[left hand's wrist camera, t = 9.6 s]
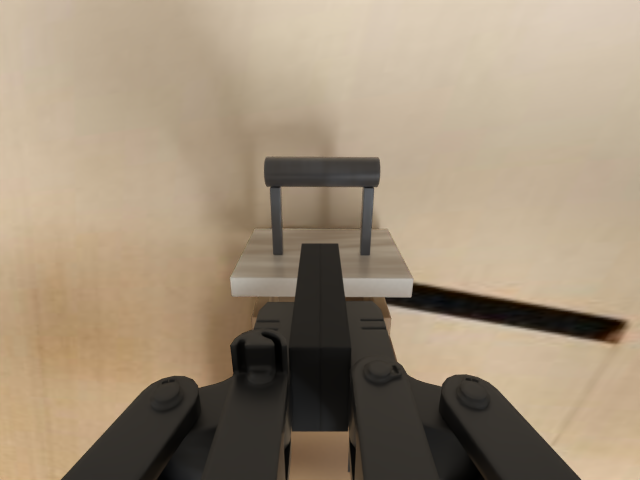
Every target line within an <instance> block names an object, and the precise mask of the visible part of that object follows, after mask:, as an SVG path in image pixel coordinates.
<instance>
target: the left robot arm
mask: <svg viewBox="0 0 640 480" xmlns="http://www.w3.org/2000/svg"><path fill="white" fill-rule="evenodd" d="M230 347H231V356H232V365H233V373H234V374H233V376H232V377H231V378H229V379H227V380H225V381H223V382H220V383H217V384H213V385H209V386H205V387H201V388H198V385H197V384H196V383H195V381H194V380H193V379H190V378H188V377H185V376H172V377H168V378H163V379H161V380H159V381H157V382H155V383H153V384H151V385H150V386H148V387H147V388H146V389H145V390H144V391H142V392H141V393H140V395H139V396H138V397H137V398H136V399H135V400H134V401H133V402H132V403H131V404H130V405H129V407H128V408H127V409H126V410H125V411H124V412H123V413H122V414H121V415H120V416H119V417H118V418H117V420H116V421H115V422H114V423H113V424H112V425H111V426H110V427H109V428H108V429H107V430H106V431H105V433H104V434H103V435H102V436H101V437H100V438H99V439H98V440H97V441H96V442H95V443H94V444H93V446H92V447H91V448H90V449H89V450H88V451H87V452H86V453H85V454H84V455H83V456H82V457H81V459H80V460H79V461H78V462H77V463H76V464H75V465H74V466H73V467H72V468H71V469H70V470H69V472H68V473H67V474H66V475H65V476H64V477H63V478H62V479H61V480H289V476H290V463H291V429H292V432H348V427H349V453H348V472H350V475H351V480H581V479H580V478H579V477H578V476H577V475H576V473H575V472H574V471H573V470H572V469H571V468H570V467H569V466H568V465H567V464H566V463H565V462H564V461H563V459H562V458H561V457H560V456H559V455H558V454H557V453H556V452H555V451H554V450H553V449H552V448H551V447H550V445H549V444H548V443H547V442H546V441H545V440H544V439H543V438H542V437H541V436H540V435H539V434H538V433H537V431H536V430H535V429H534V428H533V427H532V426H531V425H530V424H529V423H528V422H527V421H526V420H525V419H524V417H523V416H522V415H521V414H520V413H519V412H518V411H517V410H516V409H515V408H514V407H513V406H512V405H511V403H510V402H509V401H508V400H507V399H506V398H505V397H504V396H503V395H502V394H501V393H500V392H499V391H498V390H497V389H496V388H495V387H494V386H492V385H491V384H490V383H489V382H487V381H485V380H482V379H480V378H478V377H475V376H470V375H454V376H451V377H449V378H447V379H446V380H445V382H444V383H443V384H442V387H441V386H437V385H433V384H429V383H425V382H422V381H419V380H416V379H414V378H412V377H410V376H409V375H407V373H406V371H405V370H404V368H403V366H402V365H401V364H399V363H398V362H397V361H396V359H395V355H394V352H393V349H392V345H391V342H390V338H389V335H388V331H387V330H386V324H385V321H384V317H383V314H382V311H381V309H380V308H379V307H378V306H377V305H376V304H375V303H374V302H373V301H346V300H345V292H344V284H343V277H342V269H341V261H340V253H339V245H338V243H302V245H301V253H300V261H299V269H298V277H297V284H296V292H295V300H294V302H267V303H266V304H265V305H264V306H263V307H262V308H261V309H260V310H259V312H258V315H257V319H256V322H255V326H254V330H250V331H247V332H245V333H242V334H241V335H239V336H238V337H237V338H235V339H234V341H233V342H232V344H231V345H230Z"/></svg>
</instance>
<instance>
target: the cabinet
mask: <svg viewBox="0 0 640 480" xmlns="http://www.w3.org/2000/svg"><path fill="white" fill-rule="evenodd" d="M389 338H390V337H389ZM390 342H391V338H390ZM391 345H392V342H391ZM392 349H393V345H392ZM393 352H394V349H393ZM394 355H395V352H394ZM395 359H396V355H395ZM396 361H397V359H396ZM348 453H349V427H348V432H292V429H291V463H290V476H289V480H351V475H350V472H348Z"/></svg>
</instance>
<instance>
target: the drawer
mask: <svg viewBox="0 0 640 480" xmlns="http://www.w3.org/2000/svg"><path fill="white" fill-rule="evenodd" d="M264 178H265V184H266V186H267V187H270V199H271V220H272V228H255V229H254V231H253V233H252V235H251V237H250V239H249V241H248V243H247V245H246V247H245V249H244V251H243V253H242V255H241V257H240V259H239V261H238V263H237V265H236V267H235V269H234V271H233V273H232V275H231V277H230V284H231V294H232V296H239V297H258V299H257V302H256V305H255V308H254V311H253V315H252V330H254V326H255V322H256V319H257V315H258V312H259V310H260V309H261V308H262V307H263V306H264V305H265V304H266V303H267V302H294V300H295V292H296V284H297V277H298V269H299V261H300V253H301V245H302V243H338V245H339V253H340V261H341V269H342V277H343V284H344V292H345V300H346V301H373V302H374V303H375V304H376V305H377V306H378V307H379V308H380V309H381V311H382V314H383V317H384V321H385V324H386V330H387V331H388V335H389V337H390V326H391V316H390V313H389V310H388V307H387V304H386V301H385V298H384V297H411V296H412V287H413V277H412V275H411V273H410V271H409V269H408V267H407V265H406V263H405V261H404V259H403V257H402V256H401V254H400V252H399V250H398V248H397V246H396V244H395V242H394V240H393V238H392V236H391V234H390V232H389V230H388V229H372V215H373V198H374V187H378V185H379V180H380V160H379V158H378V157H266V158H265V162H264ZM281 187H363V191H362V212H361V229H283V224H282V196H281Z"/></svg>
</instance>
